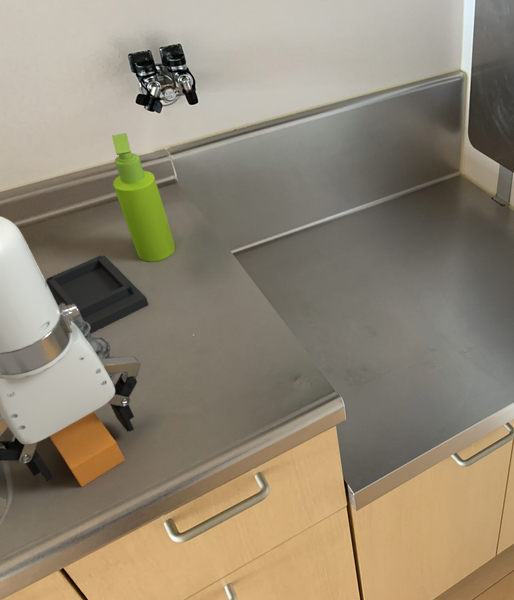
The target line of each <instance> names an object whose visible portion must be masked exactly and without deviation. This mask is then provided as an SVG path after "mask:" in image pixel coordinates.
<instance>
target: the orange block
mask: <svg viewBox="0 0 514 600" xmlns="http://www.w3.org/2000/svg"><path fill="white" fill-rule="evenodd" d="M48 438H49V439H50V440H51V442H52V444H53V445H54V446H55V448H56V450H57V451H58V453H59V455H60V456H61V457H62V459H63V461H64V462H65V463H66V465H67V466H68V468H69V470H70V471H71V473H72V474H73V476H74V478H75V479H76V481H77V483H78V485H80V487H84V486H86V485H88V484H89V483H90V482H92V481H95V480H96V479H97V478H99V477H100V476H102V475H104V474H105V473H107V472H109V471H110V470H112V469H113V468H114V467H116V466H118V465H120V464H121V463H123V462H124V461H126V459H125V457H124V455H123V453H122V451H121V449H120V447H119V445H118V443H117V442H116V440H115V439H114V437H113V436H112V435H111V433H110V431H108V429H107V428H106V426H105V425H104V423H103V422H102V421H101V420H100V418H99V417H98V415H97V414H96V413H95V411H93V412H92V413H90V414H88V415H86V416H85V417H83V418H81V419H79V420H78V421H76V422H74V423H72V424H70V425H69V426H67V427H65V428H63V429H62V430H60V431H58V432H56V433H54V434H52V435H51V436H49V437H48Z"/></svg>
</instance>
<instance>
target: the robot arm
mask: <svg viewBox="0 0 514 600" xmlns="http://www.w3.org/2000/svg"><path fill="white" fill-rule="evenodd" d="M79 316H81V314H80V312H79V310H78V308H77V307H76V305H75V304H72V305H70V306H68V307H66V306H64V307H61V306H60V305H59V306H58V305H57V303H56V301H55V299H54V297H53V295H52V293H51V291H50V289H49V287H48V285H47V283H46V279H45V277H44V275H43V273H42V272H41V269H40V267H39V266H38V263H37V261H36V258H35V257H34V255H33V253H32V251H31V249H30V247H29V245H28V243H27V241H26V239H25V237H24V235H23V233H22V232H21V230H20V229H19V227H18V226H17V225H16V224H15V223H14V222H12V221H11V220H10V219H8V218H6V217H3V216H1V215H0V438H1V437H2V436H3V435H4V433H5V432H6V431H7V430H9V431H10V432H11V434H12V438H11V440H0V461H1V462H3V461H4V462H5V461H8V462H9V461H10V462H11V461H18V462H19V463H20V464H23V465H26V467H27V468H28V469H29V471H30V473H32V475H33V476H34V477H35V476H37V475H39V474H41V475H42V476H43V478H44V480H45V481H46V482H49V481H50V480H52V478H53V477H54V476H53V474H52V472H51V470H50V469H49V467H48V466H47V464H46V462H45V461H44V459H43V458H42V456H41V455H40V453H39V451H38V450H37V446H38V444H39V442H41V441H43V440H45V439H47V438H50V437H49V436H51V435H52V434H54V433H56V432H58V431H60V430H62V429H63V428H65V427H67V426H69V425H70V424H72V423H74V422H76V421H78V420H79V419H81V418H83V417H85V416H86V415H88V414H90V413H92V412H95V411H97V410H98V409H100V408H101V407H104V406H106V404H109V405H110V407H111V409H112V410H113V413H114V416H115V417H116V419H117V420H118V421H119V422H120V425H122V427H123V428H124V429H125V431H126V432H127V433H128V432H130V433H131V432H132V431H134V430H135V428H134V426H133V424H132V422H131V420H132V419H134V418H135V415H134V413H133V411H132V409H131V407H130V403H131V398H130V396H131V394H133V393H132V392H133V391H134V389H135V387H136V385H137V383H138V380H137V377H138V376H139V372H140V368H141V362H140V361H139V359H138V358H137V357H136V356H135V355H131V356H123V357H122V356H121V357H109V358H108V359H99V358H98V356H97V354H96V353H95V351H94V350H93V348H92V346H91V345H90V344H89V342H88V341H87V339H86V338H85V336H84V335H83V333H82V332H81V331H80V330H79V328H78V327H77V326H76V325H75V324H74V323H73V322H72V321H73V320H74V318H76V317H79ZM112 373H114V374H119V373H120V376H119V377H118V379H117V381H116V383H114V382H113V381H112V379H111V378H110V377H109V375H108V374H112Z"/></svg>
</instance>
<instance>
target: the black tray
mask: <svg viewBox="0 0 514 600" xmlns="http://www.w3.org/2000/svg"><path fill="white" fill-rule="evenodd" d="M45 281H46V283H47V285H48V287H49V289H50V291H51V293H52V295H53V297H54V299H55V301H56V303H57V305H58V306H59V305H60V303H63V304H65V305H72V304H75V305H76V307H77V308H78V309H79V311H80V314H81V316H82V318H83V320H84V321H85V322H87V323H88V324H89V325H90V333H91V334H93V333H94V332H96V331H98V330H100V329H103V328H105V327H107V326H109V325H111V324H113V323H114V322H116V321H119V320H121V319H123V318H125V317H127V316H129V315H131V314H133V313H135V312H137V311H139V310H141V309H143V308H145V307H147V306H149V302H148V299H147V297H146V296H145V294H143V293H142V291H140V289H139V288H137V286H135V284H134V283H132V281H130V279H129V278H128V277H127V276H126V275H125V274H124V273H123V272H121V270H120V269H118V267H117V266H116V265H115V264H113V262H112V261H111V260H110V259H109V258H108V257H107V256H106V255H105V254H104V255H98V256H96V257H94V258H91V259H89V260H87V261H84V262H81V263H80V264H78V265H75V266H72V267H70V268H68V269H66V270H63V271H61V272H59V273H56V274H54V275H52V276H50V277H47V278H46V279H45Z"/></svg>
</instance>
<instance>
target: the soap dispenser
mask: <svg viewBox="0 0 514 600" xmlns="http://www.w3.org/2000/svg"><path fill="white" fill-rule="evenodd" d="M111 137H112V142H113V146H114V150H115V154H116V155H117V156H116V158H114V164H115V167H116V170H117V172H118V176H117V177H115V178H114V180H113V181H112V186H113V189H114V192H115V194H116V198H117V200H118V203H119V206H120V208H121V211H122V214H123V217H124V220H125V223H126V226H127V228H128V231H129V234H130V237H131V239H132V243H133V245H134V249H135V252H136V254H137V256H138V258H139V259H140V260H141V261H145V262H151V263H152V262H159V261H163V260H165V259H167V258H169V257H170V256H172V255H173V254H174V252H175V251H176V244H175V241H174V237H173V233H172V231H171V227H170V224H169V221H168V217H167V214H166V211H165V207H164V204H163V201H162V197H161V194H160V191H159V187H158V184H157V181H156V177H155V174H154V173H152V172H151V171H148V170H144V168H143V166H142V162H141V159H140V156H139V155H138V154H137V153H132V149H131V147H130V143H129V139H128V135H127V132H124V133H118V134H113V135H112V136H111Z"/></svg>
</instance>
